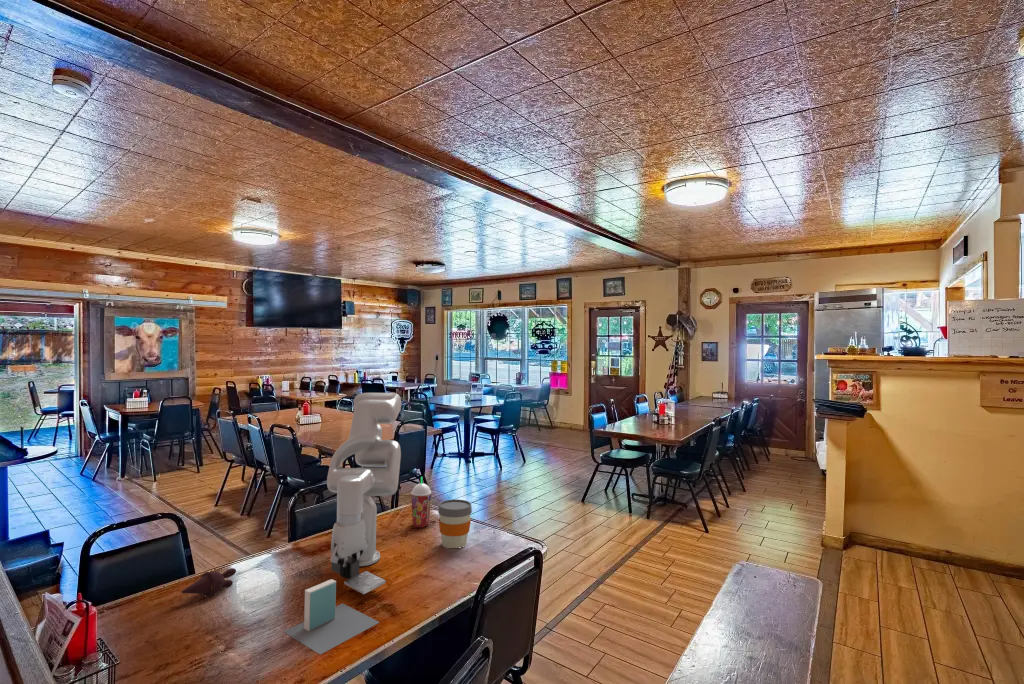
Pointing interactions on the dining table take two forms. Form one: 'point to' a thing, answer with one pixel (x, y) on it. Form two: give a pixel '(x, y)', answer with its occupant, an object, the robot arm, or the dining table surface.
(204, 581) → the icecream
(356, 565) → the trowel
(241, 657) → the dining table surface
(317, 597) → the tile
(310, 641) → the mat
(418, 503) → the smoothie
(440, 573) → the dining table surface
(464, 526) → the reusable coffee cup
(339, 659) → the dining table surface
